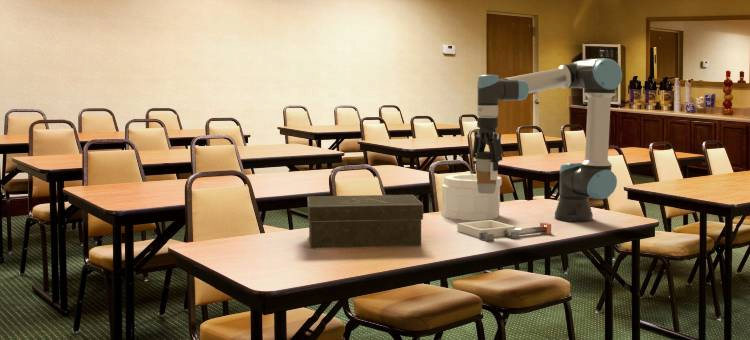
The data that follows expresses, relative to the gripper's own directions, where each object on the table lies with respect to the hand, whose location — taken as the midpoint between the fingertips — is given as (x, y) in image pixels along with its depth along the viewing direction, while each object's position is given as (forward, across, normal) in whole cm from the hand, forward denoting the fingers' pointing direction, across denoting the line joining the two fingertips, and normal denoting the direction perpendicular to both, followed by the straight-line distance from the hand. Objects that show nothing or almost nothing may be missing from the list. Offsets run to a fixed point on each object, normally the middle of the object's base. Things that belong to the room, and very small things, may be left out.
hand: (486, 178), depth 293 cm
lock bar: (+21, +11, +10) cm, 25 cm away
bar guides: (+21, +11, -2) cm, 23 cm away
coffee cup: (+6, 0, 0) cm, 6 cm away
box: (+21, -8, -47) cm, 52 cm away
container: (+21, -35, +17) cm, 44 cm away
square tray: (+21, 0, 0) cm, 21 cm away
